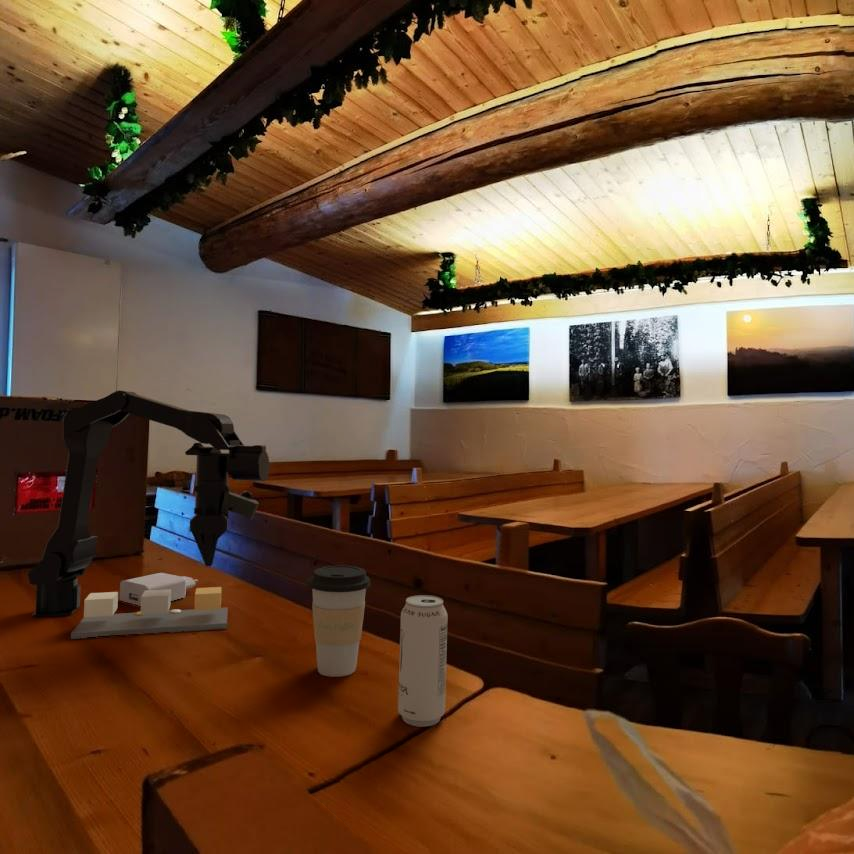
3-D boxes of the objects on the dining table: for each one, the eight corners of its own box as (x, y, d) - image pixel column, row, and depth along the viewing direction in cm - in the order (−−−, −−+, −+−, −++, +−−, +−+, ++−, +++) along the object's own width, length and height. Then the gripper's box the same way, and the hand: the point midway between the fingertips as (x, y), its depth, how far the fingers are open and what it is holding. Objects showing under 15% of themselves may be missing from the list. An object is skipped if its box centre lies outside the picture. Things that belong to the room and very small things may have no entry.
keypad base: (70, 639, 100) (71, 632, 100) (85, 621, 110) (85, 614, 110) (226, 628, 108) (226, 622, 108) (227, 612, 118) (227, 606, 118)
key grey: (140, 613, 106) (141, 597, 106) (144, 606, 110) (144, 590, 111) (167, 612, 108) (168, 595, 108) (170, 605, 112) (171, 589, 112)
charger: (208, 593, 131) (147, 610, 118) (181, 587, 136) (119, 602, 123) (209, 572, 132) (148, 586, 118) (181, 566, 136) (120, 579, 123)
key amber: (194, 610, 109) (194, 594, 109) (196, 603, 113) (196, 588, 113) (220, 609, 110) (220, 593, 110) (221, 602, 115) (221, 586, 115)
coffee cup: (316, 686, 85) (319, 580, 85) (298, 662, 93) (301, 566, 93) (377, 675, 89) (380, 575, 89) (355, 654, 97) (357, 562, 98)
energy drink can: (399, 705, 79) (402, 593, 80) (444, 707, 79) (447, 594, 79) (395, 727, 73) (399, 606, 74) (444, 730, 73) (448, 608, 73)
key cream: (83, 617, 103) (84, 599, 104) (89, 609, 108) (90, 593, 108) (112, 615, 105) (113, 598, 105) (117, 608, 109) (118, 591, 109)
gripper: (257, 484, 106) (255, 572, 105) (255, 476, 123) (253, 551, 123) (190, 484, 102) (187, 575, 102) (197, 476, 120) (195, 553, 120)
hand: (209, 562), depth 112 cm, fingers open, 5 cm apart
